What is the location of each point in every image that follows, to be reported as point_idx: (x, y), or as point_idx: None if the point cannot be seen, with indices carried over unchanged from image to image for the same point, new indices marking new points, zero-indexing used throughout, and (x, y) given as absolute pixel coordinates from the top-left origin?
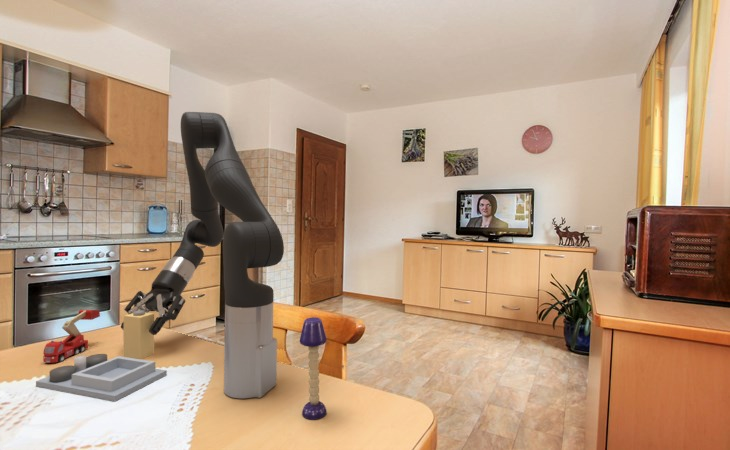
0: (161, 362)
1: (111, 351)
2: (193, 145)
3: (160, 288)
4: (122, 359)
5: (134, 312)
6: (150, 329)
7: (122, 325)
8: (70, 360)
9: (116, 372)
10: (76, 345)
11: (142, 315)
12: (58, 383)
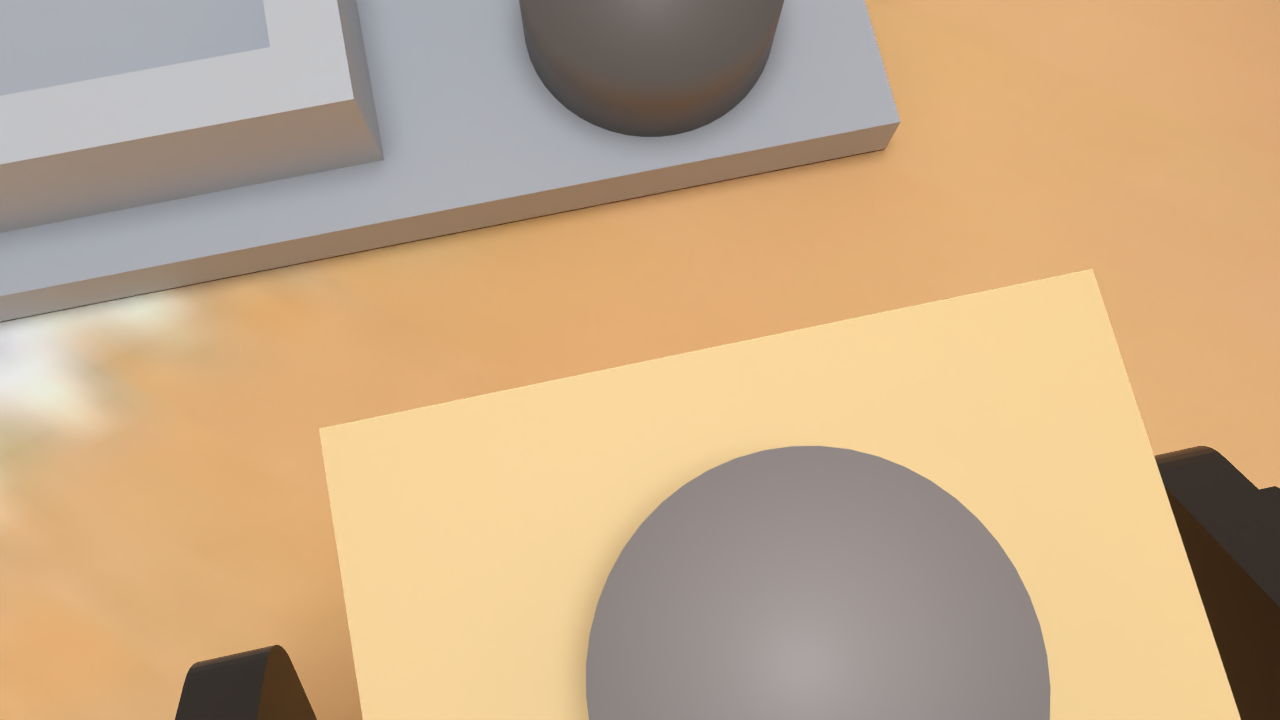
0: (92, 646)
1: None
2: None
3: None
4: (185, 69)
5: (789, 450)
6: (217, 667)
7: (1186, 465)
8: (1274, 55)
9: (163, 20)
10: None
11: (549, 662)
12: None
